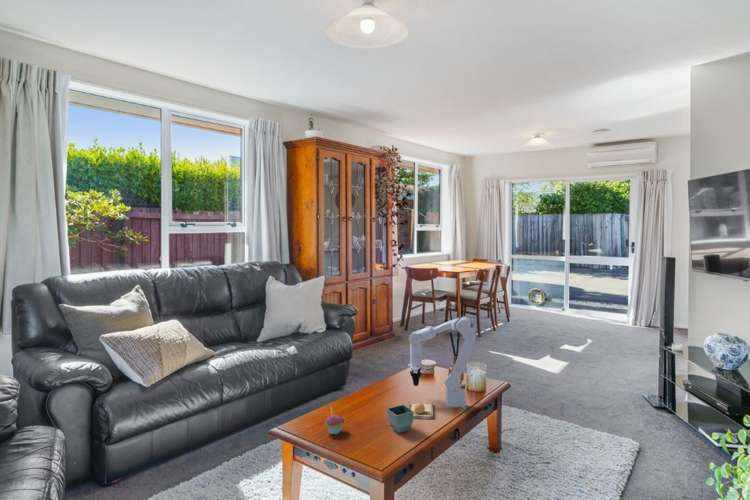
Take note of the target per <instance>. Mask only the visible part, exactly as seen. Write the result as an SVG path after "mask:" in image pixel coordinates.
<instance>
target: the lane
mask: <svg viewBox="0 0 750 500" xmlns="http://www.w3.org/2000/svg"><path fill="white" fill-rule="evenodd" d="M415 404H416V403H410V405H409V409H411V410H413V411H414V412H415V410H414V406H415ZM422 404H423V405H424V407H425V411H424V412H431V403H430V404H427V403H422Z"/></svg>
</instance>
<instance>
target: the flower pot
mask: <svg viewBox="0 0 750 500" xmlns="http://www.w3.org/2000/svg"><path fill="white" fill-rule="evenodd" d="M414 412H415V411H413V410H411V409H409V408H408V407H407V406H406V405H405V404H400V405H397V406H392V407H388V408H386V414H387V420H388V423H389V426H390V427H391V429H392V430H393V431H395V432H396V433H397V434H402V433H404V432H405V433H406V432H409V430H411V427H412V425H413V422H414V418H413V415H414Z"/></svg>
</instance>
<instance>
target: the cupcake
mask: <svg viewBox="0 0 750 500" xmlns="http://www.w3.org/2000/svg"><path fill="white" fill-rule="evenodd" d="M344 425H345V419H344V417H343V416H341V415H339V414H334V411H333V407H330V415H329V416H327V417H326V418H325V419H324V426H325V427H326V428H327V429H328V430H327V431H328V434H330V435H333V434H335V435H339V434H340V433H341V431H342V428H343V426H344ZM338 433H339V434H338Z"/></svg>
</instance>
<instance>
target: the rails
mask: <svg viewBox="0 0 750 500" xmlns="http://www.w3.org/2000/svg"><path fill="white" fill-rule="evenodd" d="M410 404H411V403H410V401H409V400H407V406H406V407H408V408H409V405H410ZM430 404H431V411H430V413H431V414H430V415H429V414H413V420H414V419H415V420H416V419H417V420H419V419H420V420H422V419H423V420H434V410H433V409H434V407H433V405H434V403H433V401H431V402H430Z"/></svg>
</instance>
